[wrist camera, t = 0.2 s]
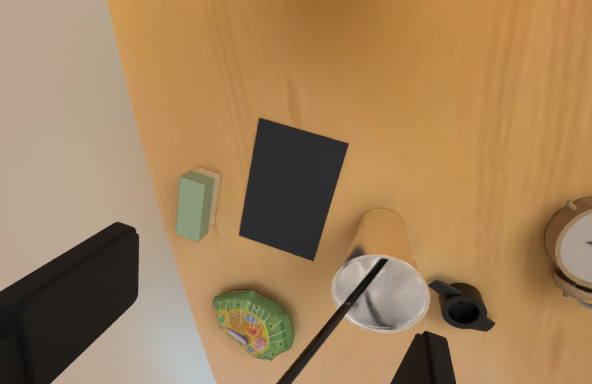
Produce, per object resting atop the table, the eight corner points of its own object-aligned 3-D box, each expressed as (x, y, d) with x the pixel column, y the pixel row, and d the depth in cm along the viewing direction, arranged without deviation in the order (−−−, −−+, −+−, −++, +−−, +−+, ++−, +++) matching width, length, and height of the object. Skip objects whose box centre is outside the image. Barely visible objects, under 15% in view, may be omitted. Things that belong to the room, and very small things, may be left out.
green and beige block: (199, 165, 52) (179, 176, 47) (222, 172, 52) (204, 185, 47) (194, 218, 56) (175, 234, 52) (215, 226, 56) (198, 242, 51)
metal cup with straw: (324, 223, 50) (249, 415, 24) (382, 178, 45) (371, 355, 19) (371, 272, 51) (352, 508, 25) (433, 233, 47) (493, 475, 20)
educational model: (240, 263, 58) (226, 283, 53) (313, 318, 58) (306, 342, 53) (208, 304, 63) (193, 324, 58) (275, 353, 64) (266, 378, 59)
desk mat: (259, 118, 47) (259, 118, 46) (348, 143, 45) (348, 144, 45) (239, 234, 55) (239, 235, 55) (313, 260, 53) (313, 261, 53)
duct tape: (482, 267, 47) (487, 279, 44) (494, 323, 49) (500, 337, 47) (425, 275, 49) (427, 287, 47) (439, 327, 52) (442, 341, 49)
